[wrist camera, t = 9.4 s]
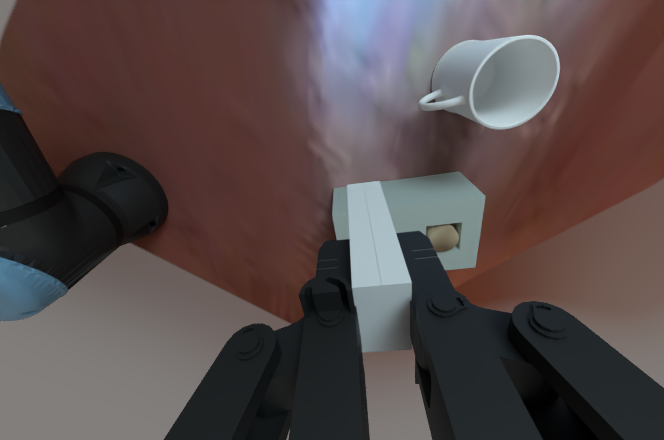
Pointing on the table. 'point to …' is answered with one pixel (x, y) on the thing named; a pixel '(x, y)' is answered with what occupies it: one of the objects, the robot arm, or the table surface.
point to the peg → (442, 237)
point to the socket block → (428, 211)
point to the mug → (495, 80)
